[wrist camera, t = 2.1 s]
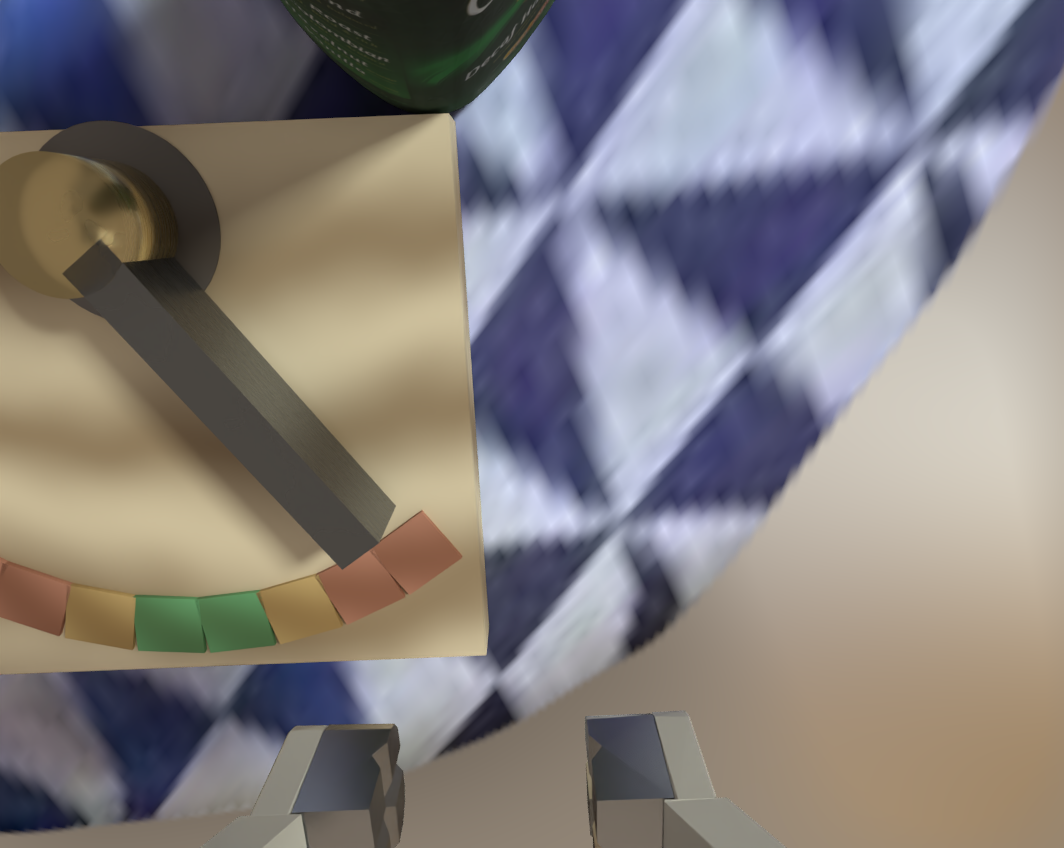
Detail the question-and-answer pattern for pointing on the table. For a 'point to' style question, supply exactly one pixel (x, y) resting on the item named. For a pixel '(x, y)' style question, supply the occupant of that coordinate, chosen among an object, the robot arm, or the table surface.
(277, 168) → the dial board
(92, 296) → the tuning needle
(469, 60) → the coffee jar
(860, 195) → the table surface
